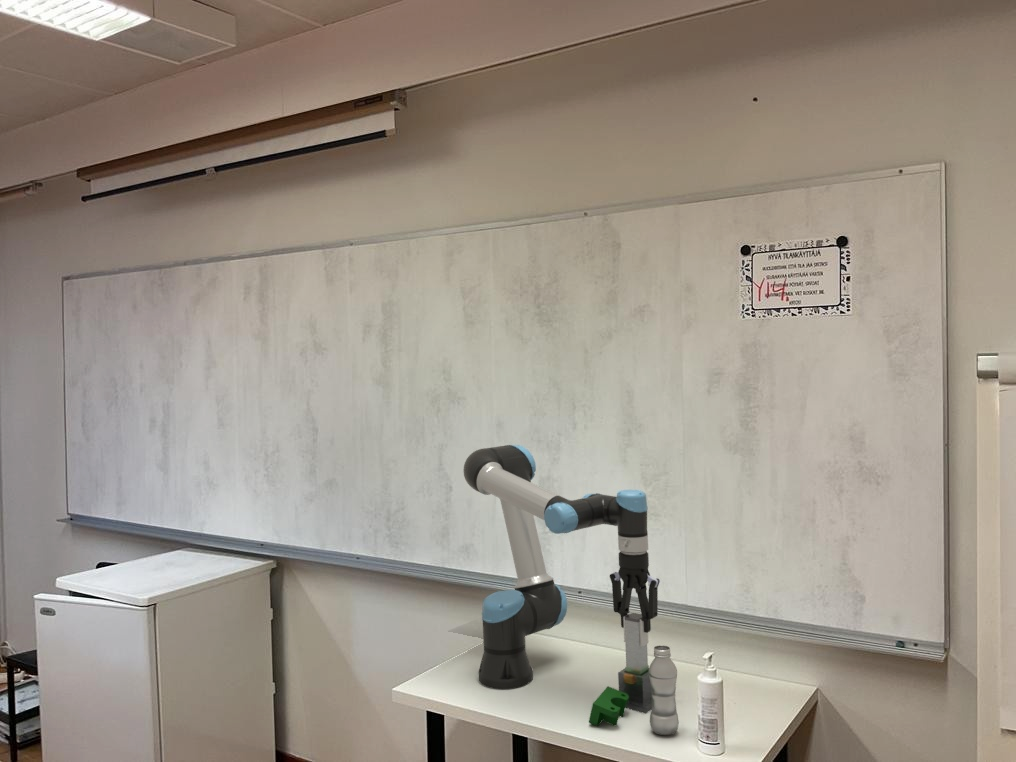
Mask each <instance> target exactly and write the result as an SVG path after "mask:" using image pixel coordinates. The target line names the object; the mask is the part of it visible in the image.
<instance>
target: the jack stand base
mask: <svg viewBox="0 0 1016 762" xmlns="http://www.w3.org/2000/svg"><path fill="white" fill-rule="evenodd" d="M617 676H618V677H617V678H618V680H617V681H618V691H621V692H623V693H626V694H627V695H628V696H629V699H628V703H627V704H626V706H625V709H627V708H629V710H631V709H632V711H635V712H638V711H639V713H642V712H643V714H648V711H649V712H651V706H652V692H651V682H650V676H649V671H648V672H647V673H645V674H643V675H642V676H638V675H634V674H630V673H626V669H625V668H623V669H621V670H620V671H618V673H617Z"/></svg>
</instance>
